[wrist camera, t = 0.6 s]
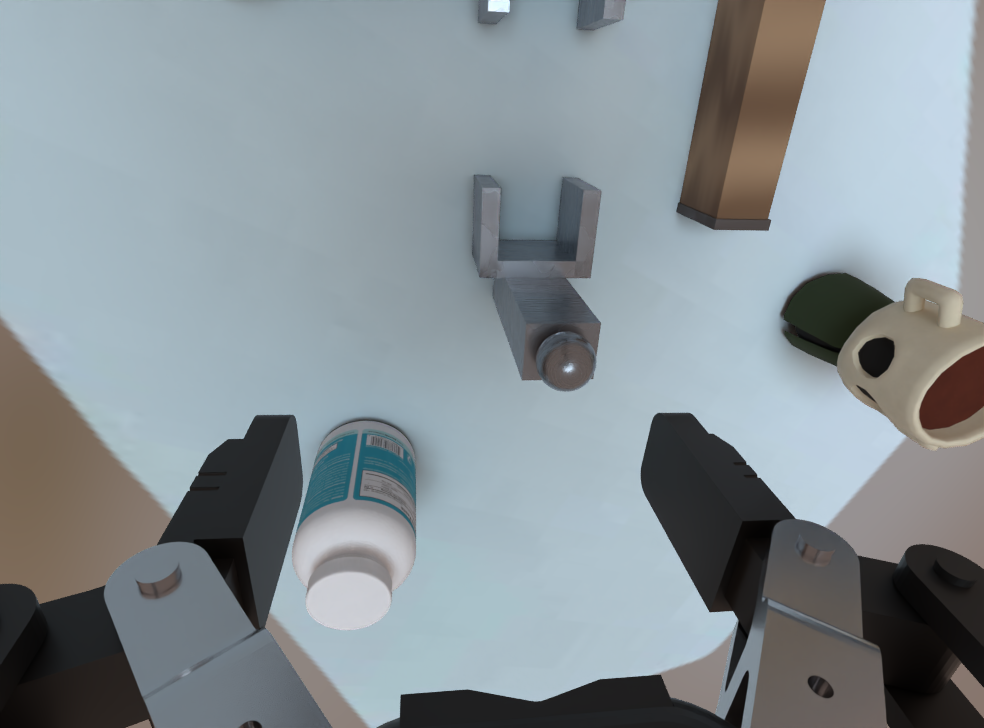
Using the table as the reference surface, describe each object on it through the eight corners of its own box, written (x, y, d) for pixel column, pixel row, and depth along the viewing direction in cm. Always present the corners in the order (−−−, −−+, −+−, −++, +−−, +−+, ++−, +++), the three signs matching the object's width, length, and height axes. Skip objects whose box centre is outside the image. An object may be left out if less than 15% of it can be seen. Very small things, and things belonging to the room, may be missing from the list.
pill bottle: (327, 498, 43) (291, 655, 31) (309, 420, 40) (262, 562, 28) (420, 489, 44) (421, 638, 32) (412, 411, 40) (408, 546, 29)
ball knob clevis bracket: (482, -171, 26) (542, -419, 13) (613, -157, 27) (785, -377, 14) (471, 297, 37) (498, 406, 24) (565, 297, 38) (639, 402, 25)
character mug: (770, 256, 38) (921, 327, 27) (868, 226, 38) (1062, 284, 27) (774, 383, 43) (903, 489, 32) (861, 357, 43) (1021, 454, 32)
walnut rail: (725, -47, 30) (781, -73, 25) (782, -43, 30) (848, -67, 26) (676, 211, 36) (714, 229, 31) (724, 213, 36) (768, 230, 32)
